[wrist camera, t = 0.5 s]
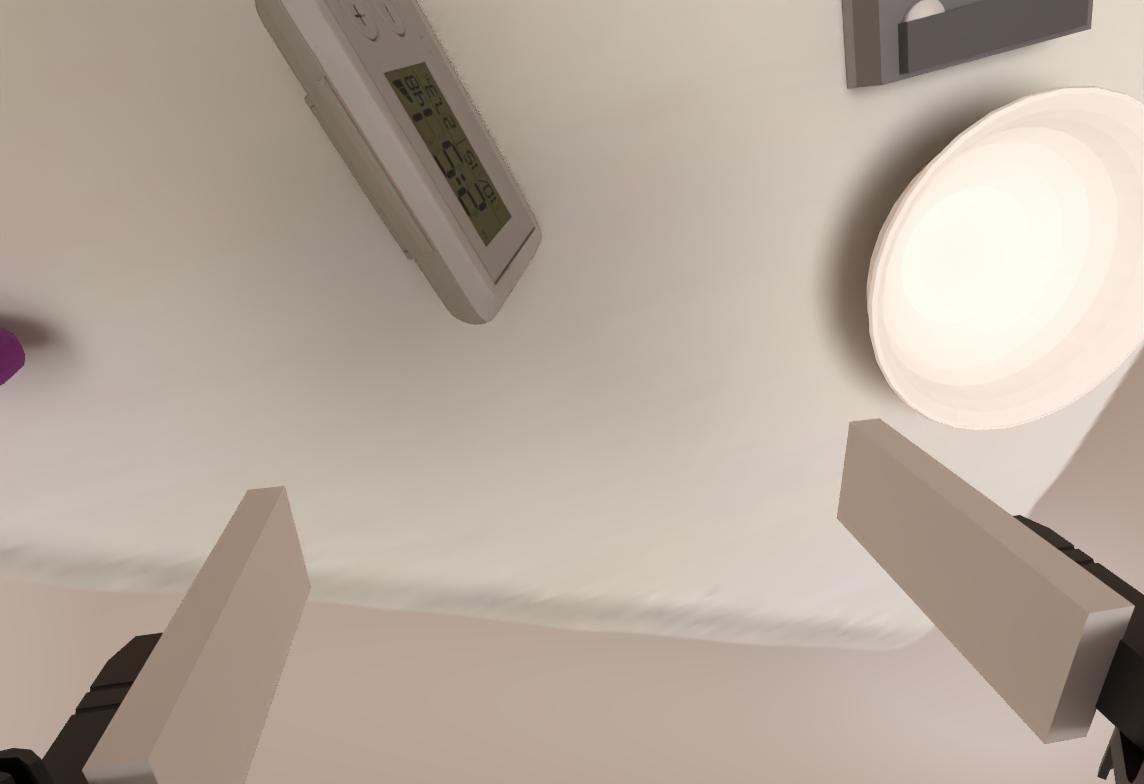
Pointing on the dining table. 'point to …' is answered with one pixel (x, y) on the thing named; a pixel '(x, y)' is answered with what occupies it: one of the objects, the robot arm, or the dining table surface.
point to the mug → (9, 355)
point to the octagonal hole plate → (946, 33)
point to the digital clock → (411, 143)
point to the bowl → (1015, 262)
